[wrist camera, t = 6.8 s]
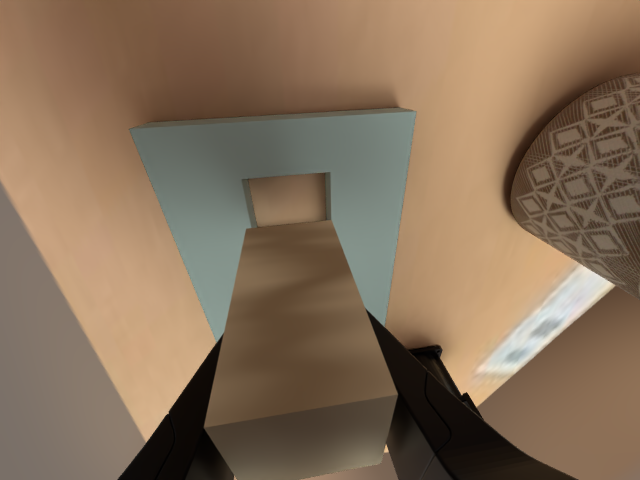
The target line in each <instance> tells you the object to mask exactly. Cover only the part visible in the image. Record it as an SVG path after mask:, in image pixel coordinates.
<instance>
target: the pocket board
mask: <svg viewBox="0 0 640 480" xmlns="http://www.w3.org/2000/svg"><path fill="white" fill-rule="evenodd" d="M415 118H416V111H413V110H409V109H404V108H400V107H398V108H382V109H365V110H348V111H331V112H315V113H298V114H281V115H264V116H248V117H231V118H214V119H197V120H181V121H164V122H149V123H146V124H143V125H140V126H136V127H133V128H130V129H129V130H130V133H131V135H132V138H133V140H134V143H135V145H136V147H137V150H138V152H139V155H140V157H141V160H142V162H143V165H144V167H145V169H146V172H147V174H148V177H149V179H150V182H151V184H152V186H153V189H154V191H155V194H156V196H157V199H158V201H159V203H160V206H161V208H162V211H163V213H164V216H165V218H166V220H167V223H168V225H169V228H170V230H171V233H172V235H173V238H174V240H175V242H176V245H177V247H178V250H179V252H180V255H181V257H182V259H183V262H184V264H185V267H186V269H187V272H188V274H189V276H190V279H191V281H192V284H193V286H194V289H195V291H196V293H197V296H198V298H199V301H200V303H201V306H202V308H203V310H204V313H205V315H206V318H207V320H208V323H209V325H210V328H211V330H212V332H213V335H214V337H215V340H216V342H217V341H218V340H219V339H220V337H221V336H222V334H223V333H224V330H225V325H226V321H227V316H228V311H229V307H230V302H231V297H232V293H233V288H234V283H235V278H236V274H237V269H238V264H239V260H240V255H241V250H242V245H243V241H244V236H245V231H246V229H247V228H257V223H256V218H255V213H254V208H253V203H252V198H251V193H250V188H249V183H248V179H251V178H263V177H275V176H287V175H299V174H311V173H324V172H325V192H326V220H332V222H333V225H334V228H335V230H336V233H337V235H338V238H339V241H340V243H341V246H342V249H343V251H344V254H345V257H346V259H347V262H348V264H349V267H350V270H351V272H352V275H353V278H354V280H355V283H356V285H357V288H358V291H359V293H360V296H361V299H362V301H363V304H364V306H365V308H366V309H367V310H368V311H369V312H370V313H371V314H372V315H373V316H374V317H375V318H376V319H377V320H378V321H379V322H380V323H381V324H382V325H383V326H384V327H385V321H386V315H387V308H388V301H389V294H390V287H391V281H392V274H393V267H394V260H395V254H396V247H397V240H398V233H399V226H400V220H401V213H402V206H403V199H404V192H405V186H406V179H407V172H408V165H409V159H410V152H411V145H412V138H413V131H414V125H415Z"/></svg>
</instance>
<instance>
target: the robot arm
mask: <svg viewBox="0 0 640 480" xmlns="http://www.w3.org/2000/svg"><path fill="white" fill-rule="evenodd" d="M365 309H366V308H365ZM366 312H367V314H368V317H369V320H370V322H371V325H372V327H373V330H374V333H375V335H376V338H377V341H378V343H379V346H380V348H381V351H382V354H383V356H384V359H385V362H386V364H387V367H388V370H389V372H390V375H391V377H392V380H393V383H394V385H395V388H396V391H397V393H398V396H397V400H396V404H395V408H394V412H393V416H392V421H391V425H390V429H389V433H388V437H387V441H386V444H387V447H388V450H389V453H390V456H391V459H392V461H393V465H394V468H395V471H396V474H397V477H398V479H399V480H578V479H576V478H574V477H572V476H570V475H567V474H565V473H563V472H561V471H559V470H557V469H555V468H553V467H550V466H548V465H546V464H544V463H542V462H540V461H538V460H536V459H534V458H533V457H531V456H529V455H527V454H526V453H524V452H523V451H521V450H520V449H518V448H517V447H516V446H514V445H513V444H512V443H510V442H509V441H508V440H507V439H505V438H504V437H503V436H501V434H499V433H498V432H497V431H496V430H494V429H493V428H492V427H491V426H490V425H489V424H487V423H486V422H485V421H484V419H483V418H482V416H481V415H480V413H479V411H478V410H477V408H476V406H475V405H474V403H473V401H472V400H471V398H470V396H469V395H468V393H467V392H466V393H464V394H463V395H461V393H460V392H459V390H458V388H457V386H456V385H455V383H454V381H453V380H452V378H451V376H450V374H449V373H448V371H447V369H446V368H445V366H444V364H443V362H442V361H441V359H440V356H441V353H442V348H441V347H440V346H436V347H429V348H423V349H416V350H410V351H408V350H407V349H406V348H405V347H404V346H403V345H402V344H401V343H400V342H399V341H398V340H397V339H396V338H395V337H394V336H393V335H392V334H391V333H390V332H389V331H388V330H387V329H386V328H385V327H384V326H383V325H382V324H381V323H380V322H379V321H378V320H377V319H376V318H375V317H374V316H373V315H372V314H371V313H370V312H369V311H368V310H367V309H366ZM223 335H224V333H223V334H222V336H221V337H220V339H219V340H218V341H217V343H216V344H215V346H214V347H213V349H212V350H211V352H210V353H209V354H208V356H207V357H206V359H205V360H204V362H203V363H202V364H201V366H200V367H199V369H198V370H197V372H196V373H195V375H194V376H193V377H192V379H191V380H190V382H189V383H188V385H187V386H186V387H185V389H184V390H183V392H182V393H181V395H180V396H179V398H178V399H177V400H176V402H175V403H174V405H173V406H172V408H171V409H170V410H169V414H167V415H166V416H165V417H164V419H163V420H162V422H161V423H160V425H159V426H158V427H157V429H156V430H155V432H154V433H153V434H152V436H151V437H150V439H149V440H148V441H147V443H146V444H145V445H144V447H143V448H142V449H141V451H140V452H139V453H138V454H137V456H136V457H135V458H134V460H133V461H132V462H131V464H130V465H129V466H128V467H127V468H126V470H125V471H124V472H123V473H122V475H121V476H120V477H119V479H118V480H234V474H233V472H232V471H231V469H230V468H229V466H228V465H227V463H226V462H225V460H224V458H223V457H222V455H221V454H220V452H219V451H218V449H217V448H216V446H215V444H214V443H213V441H212V440H211V438H210V437H209V435H208V434H207V432H206V430H205V429H204V424H205V420H206V415H207V410H208V405H209V401H210V396H211V391H212V387H213V382H214V377H215V373H216V368H217V363H218V358H219V354H220V349H221V344H222V340H223Z"/></svg>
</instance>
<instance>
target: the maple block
mask: <svg viewBox="0 0 640 480" xmlns="http://www.w3.org/2000/svg"><path fill="white" fill-rule="evenodd" d="M397 396H398V393H397V391H396V388H395V385H394V383H393V380H392V377H391V375H390V372H389V370H388V367H387V364H386V362H385V359H384V356H383V354H382V351H381V348H380V346H379V343H378V341H377V338H376V335H375V333H374V330H373V327H372V325H371V322H370V320H369V317H368V314H367V312H366V309H365V306H364V304H363V301H362V299H361V296H360V293H359V291H358V288H357V285H356V283H355V280H354V278H353V275H352V272H351V270H350V267H349V264H348V262H347V259H346V257H345V254H344V251H343V249H342V246H341V243H340V241H339V238H338V235H337V233H336V230H335V228H334V225H333V222H332V220H326V221H316V222H306V223H297V224H287V225H277V226H267V227H257V228H247V229H246V231H245V236H244V241H243V245H242V250H241V255H240V260H239V264H238V269H237V274H236V278H235V283H234V288H233V293H232V297H231V302H230V307H229V311H228V316H227V321H226V325H225V330H224V335H223V340H222V344H221V349H220V354H219V358H218V363H217V368H216V373H215V377H214V382H213V387H212V391H211V396H210V401H209V405H208V410H207V415H206V420H205V424H204V429H205V430H206V432H207V434H208V435H209V437H210V438H211V440H212V441H213V443H214V444H215V446H216V448H217V449H218V451H219V452H220V454H221V455H222V457H223V458H224V460H225V462H226V463H227V465H228V466H229V468H230V469H231V471H232V472H233V474H234V476H235V477H236V479H237V480H300V479H305V478H310V477H315V476H320V475H325V474H330V473H334V472H340V471H345V470H350V469H355V468H360V467H365V466H370V465H376V464H381V461H382V457H383V453H384V449H385V445H386V441H387V437H388V433H389V429H390V425H391V421H392V416H393V412H394V408H395V404H396V400H397Z"/></svg>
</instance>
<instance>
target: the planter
mask: <svg viewBox="0 0 640 480" xmlns="http://www.w3.org/2000/svg"><path fill="white" fill-rule="evenodd" d="M511 208H512V212H513V215H514V218H515V219H516V221H517V222H518V224H519V225H520V226H521V227H522V228H523V229H525V230H526V231H528V232H529V233H531V234H532V235H534V236H536V237H537V238H539V239H541V240H542V241H544V242H546V243H547V244H549V245H551V246H552V247H554V248H555V249H557V250H559V251H560V252H562V253H564V254H565V255H567V256H569V257H570V258H572V259H574V260H575V261H577V262H578V263H580V264H582V265H583V266H585V267H587V268H588V269H590V270H592V271H593V272H595V273H596V274H598V275H600V276H601V277H603V278H605V279H606V280H608V281H610V282H611V283H613V284H615V285H616V286H618V287H619V288H621V289H623V290H625V291H626V292H628V293H629V294H631V295H633V296H634V297H636V298H638V299H639V300H640V73H635V74H630V75H625V76H621V77H618V78H615V79H612V80H610V81H607V82H605V83H603V84H601V85H599V86H597V87H595V88H593V89H591V90H590V91H588V92H586V93H585V94H583V95H581V96H580V97H578V98H577V99H576V100H574V101H573V102H572V103H570V104H569V105H568V106H567V107H565V108H564V109H563V110H562V111H561V112H560V113H559V114H557V115H556V116H555V117H554V118H553V119H552V120H551V121H550V122H549V123H548V125H547V126H546V127H545V128H544V129H543V130H542V131H541V132H540V134H539V135H538V136H537V138H536V139H535V140H534V142H533V143H532V144H531V146H530V147H529V149H528V151H527V152H526V154H525V156H524V157H523V159H522V161H521V163H520V165H519V167H518V170H517V172H516V175H515V178H514V181H513V185H512V190H511Z"/></svg>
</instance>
